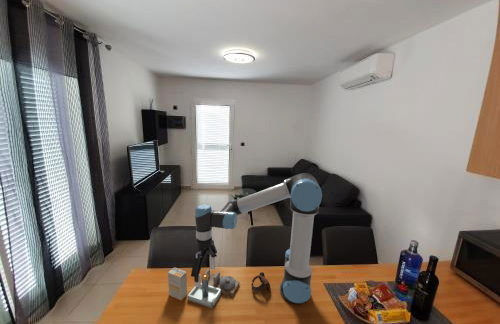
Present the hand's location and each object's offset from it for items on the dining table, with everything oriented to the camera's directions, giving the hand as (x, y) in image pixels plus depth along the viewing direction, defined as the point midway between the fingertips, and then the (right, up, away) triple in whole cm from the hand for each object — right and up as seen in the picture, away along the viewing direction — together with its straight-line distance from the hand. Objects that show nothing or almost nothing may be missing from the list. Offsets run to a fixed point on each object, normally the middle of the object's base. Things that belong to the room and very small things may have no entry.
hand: (205, 277), depth 105 cm
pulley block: (+6, -10, +9) cm, 15 cm away
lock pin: (0, -10, +2) cm, 10 cm away
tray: (-1, -11, +2) cm, 11 cm away
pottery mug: (+28, -11, +9) cm, 31 cm away
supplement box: (-14, -11, +2) cm, 18 cm away
